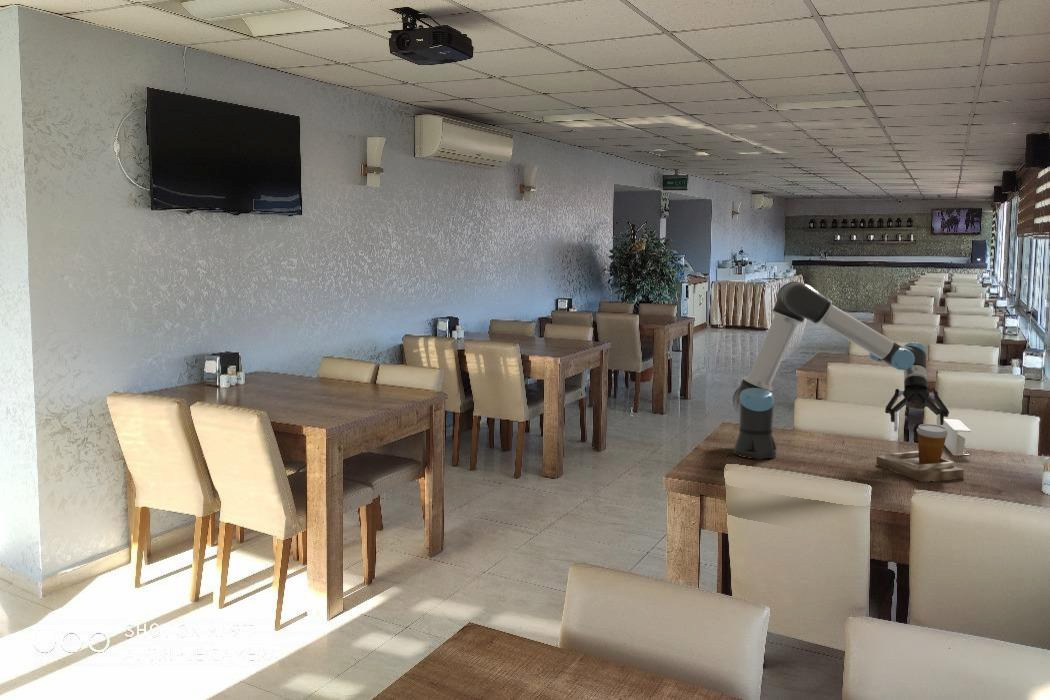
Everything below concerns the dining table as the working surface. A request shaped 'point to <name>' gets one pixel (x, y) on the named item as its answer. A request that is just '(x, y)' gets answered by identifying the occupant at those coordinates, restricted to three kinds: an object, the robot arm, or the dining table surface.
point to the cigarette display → (955, 436)
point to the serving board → (920, 467)
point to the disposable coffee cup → (931, 442)
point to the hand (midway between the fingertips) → (917, 430)
